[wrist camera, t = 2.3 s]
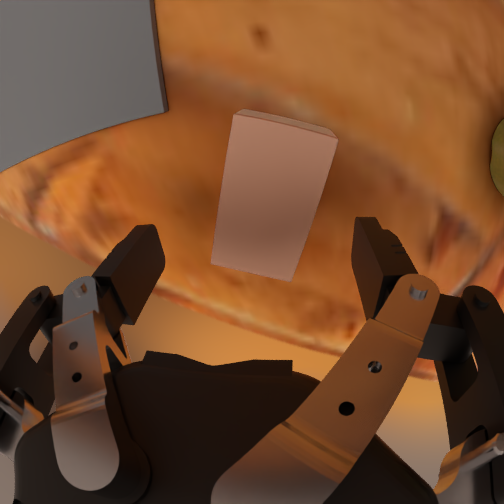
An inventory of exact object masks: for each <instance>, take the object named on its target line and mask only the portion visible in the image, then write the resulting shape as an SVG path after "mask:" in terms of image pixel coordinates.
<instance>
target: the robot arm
mask: <svg viewBox="0 0 504 504" xmlns="http://www.w3.org/2000/svg"><path fill="white" fill-rule="evenodd" d="M351 261H352V268H353V272H354V275H355V279H356V282H357V286H358V289H359V293H360V297H361V301H362V305H363V309H364V313H365V317H366V321H367V322H366V323H365V325H364V326H363V327H362V329H361V330H360V332H359V333H358V334H357V336H356V337H355V339H354V340H353V341H352V343H351V344H350V345H349V347H348V348H347V350H346V351H345V352H344V353H343V355H342V356H341V357H340V359H339V360H338V361H337V363H336V364H335V365H334V366H333V368H332V369H331V370H330V371H329V373H328V374H327V375H326V376H325V378H324V379H323V380H322V381H319V380H317V379H315V378H313V377H311V376H308V375H305V374H302V373H299V372H294V371H292V362H293V361H292V360H249V361H242V362H236V363H230V364H224V365H217V366H211V365H207V364H204V363H201V362H198V361H195V360H192V359H190V358H187V357H184V356H181V355H178V354H169V353H161V352H154V351H146V354H145V356H144V359H143V361H139V362H133V363H132V361H131V358H130V355H129V352H128V348H127V345H126V341H125V338H124V334H123V332H122V330H121V328H120V327H121V325H122V324H128V325H135V323H136V321H137V319H138V317H139V315H140V313H141V311H142V309H143V307H144V305H145V303H146V301H147V300H148V297H149V296H150V294H151V292H152V290H153V288H154V287H155V285H156V283H157V281H158V279H159V277H160V276H161V274H162V272H163V270H164V268H165V255H164V252H163V249H162V245H161V242H160V239H159V235H158V232H157V229H156V227H155V226H154V225H153V224H148V225H137V226H135V227H134V228H133V230H132V231H131V232H130V233H129V234H128V235H127V237H126V238H125V239H124V240H122V241H121V242H119V243H118V244H117V245H116V246H115V247H114V249H113V250H112V252H111V253H109V255H108V256H107V259H105V260H104V261H103V262H102V263H101V265H100V266H99V267H98V268H97V270H96V271H95V272H94V273H93V275H92V276H91V277H90V276H85V277H81V278H78V279H76V280H74V281H73V282H71V283H70V284H69V285H68V286H67V287H66V289H65V291H64V293H63V294H61V295H57V296H53V294H52V292H51V290H50V289H49V287H48V286H40V287H38V288H36V289H34V290H33V291H32V292H31V293H29V294H28V296H27V297H26V298H25V300H24V301H23V302H22V304H21V305H20V306H19V308H18V309H17V310H16V312H15V313H14V315H13V316H12V318H11V319H10V320H9V322H8V324H7V325H6V326H5V328H4V330H3V331H2V332H1V334H0V454H2V455H3V456H6V457H8V458H9V459H10V460H12V461H13V462H14V469H15V470H14V471H15V493H14V494H15V495H14V501H13V504H504V313H503V311H502V309H501V307H500V305H499V304H498V302H497V300H496V298H495V297H494V296H493V294H492V293H491V292H489V291H488V290H487V289H485V288H483V287H480V286H474V285H473V286H468V287H466V288H465V289H464V291H463V293H462V296H461V298H460V297H455V296H450V295H444V294H441V293H440V291H439V288H438V286H437V285H436V284H435V283H434V282H433V281H432V280H431V279H429V278H427V277H425V276H423V275H419V274H418V272H417V270H416V269H415V267H414V265H413V263H412V261H411V259H410V258H409V256H408V254H407V253H406V251H405V249H404V247H403V246H402V244H401V242H400V240H399V239H398V237H397V236H396V235H395V234H393V233H392V232H391V231H389V230H383V229H382V228H381V226H380V224H379V222H378V221H377V219H376V217H356V219H355V224H354V235H353V244H352V254H351ZM39 329H40V330H41V331H42V333H43V334H44V335H45V337H46V338H47V340H48V341H49V342H48V344H47V346H46V348H45V350H44V351H43V354H42V355H41V357H40V359H39V361H38V363H36V362H35V361H34V360H33V359H32V358H31V356H30V353H29V346H30V343H31V342H32V340H33V339H34V337H35V335H36V334H37V332H38V331H39ZM472 352H473V354H474V356H475V359H476V362H477V366H478V371H477V368H476V365H475V362H474V359H473V356H472ZM417 357H418V358H424V359H430V360H434V364H435V368H436V372H437V376H438V380H439V385H440V389H441V393H442V399H443V404H444V409H445V415H446V421H447V428H448V435H449V443H450V451H449V452H448V453H447V454H446V455H445V457H444V458H443V460H442V463H441V466H440V472H439V479H438V482H437V484H436V486H435V488H434V489H432V488H431V487H430V486H429V484H427V482H426V481H425V480H423V479H422V478H421V477H420V476H419V475H418V474H417V473H416V472H415V471H414V470H413V469H412V468H411V467H410V466H408V465H407V464H406V463H405V462H404V461H403V460H402V459H401V458H400V457H399V456H398V455H397V454H396V453H395V452H394V451H393V450H392V449H391V448H390V447H389V446H388V445H387V444H386V443H385V442H384V441H382V439H380V437H378V435H377V434H376V432H377V430H378V428H379V427H380V425H381V424H382V422H383V420H384V419H385V417H386V415H387V414H388V412H389V411H390V409H391V407H392V405H393V404H394V402H395V400H396V398H397V396H398V395H399V393H400V391H401V389H402V387H403V385H404V383H405V381H406V379H407V377H408V375H409V373H410V371H411V369H412V367H413V365H414V363H415V361H416V359H417ZM54 400H55V403H56V411H55V412H54V413H52V414H51V415H49V416H48V414H49V412H50V410H51V407H52V405H53V402H54Z"/></svg>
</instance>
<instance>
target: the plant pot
mask: <svg viewBox="0 0 504 504" xmlns="http://www.w3.org/2000/svg"><path fill="white" fill-rule="evenodd" d="M490 170H491V176H492V179H493V182H494V184H495V186H496V188H497V189H498V191H499V192H500V193H501V194H502V195H503V197H504V119H503V120H502V121H501V122H500V123H499V125H498V127H497V128H496V130H495V133H494V135H493V139H492V159H491V163H490Z"/></svg>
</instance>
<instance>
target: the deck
mask: <svg viewBox="0 0 504 504" xmlns="http://www.w3.org/2000/svg"><path fill="white" fill-rule="evenodd" d="M338 140H339V139H338V138H337V137H336V136H335V134H334V133H333V132H332V131H331V130H330V129H328V128H324V127H321V126H317V125H314V124H310V123H306V122H302V121H298V120H294V119H290V118H286V117H282V116H277V115H273V114H268V113H263V112H259V111H253V110H248V109H242V110H240V111H238V112H237V113H235V114H234V115H233V121H232V126H231V132H230V138H229V143H228V149H227V155H226V161H225V167H224V174H223V180H222V186H221V193H220V199H219V206H218V213H217V220H216V227H215V235H214V242H213V250H212V257H211V264H213V265H218V266H222V267H226V268H230V269H235V270H239V271H244V272H248V273H252V274H257V275H261V276H266V277H270V278H275V279H279V280H284V281H288V282H291V281H292V278H293V275H294V273H295V270H296V267H297V264H298V262H299V259H300V256H301V253H302V251H303V248H304V245H305V242H306V239H307V236H308V234H309V231H310V228H311V225H312V222H313V219H314V216H315V213H316V210H317V207H318V204H319V201H320V198H321V195H322V192H323V189H324V186H325V183H326V179H327V176H328V173H329V170H330V167H331V163H332V160H333V157H334V154H335V150H336V147H337V144H338Z"/></svg>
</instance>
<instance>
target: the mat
mask: <svg viewBox="0 0 504 504" xmlns="http://www.w3.org/2000/svg"><path fill="white" fill-rule="evenodd" d="M167 111H168V105H167V99H166V93H165V86H164V80H163V73H162V66H161V59H160V52H159V44H158V36H157V27H156V18H155V8H154V0H1V1H0V172H2V171H3V170H5V169H7V168H9V167H11V166H13V165H15V164H17V163H19V162H21V161H23V160H25V159H27V158H29V157H31V156H34V155H36V154H38V153H40V152H43V151H45V150H47V149H50V148H52V147H54V146H57V145H59V144H62V143H64V142H67V141H69V140H72V139H75V138H77V137H80V136H83V135H86V134H89V133H92V132H95V131H98V130H101V129H104V128H107V127H110V126H113V125H117V124H120V123H124V122H127V121H131V120H135V119H138V118H142V117H146V116H150V115H155V114H159V113H163V112H167Z"/></svg>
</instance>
